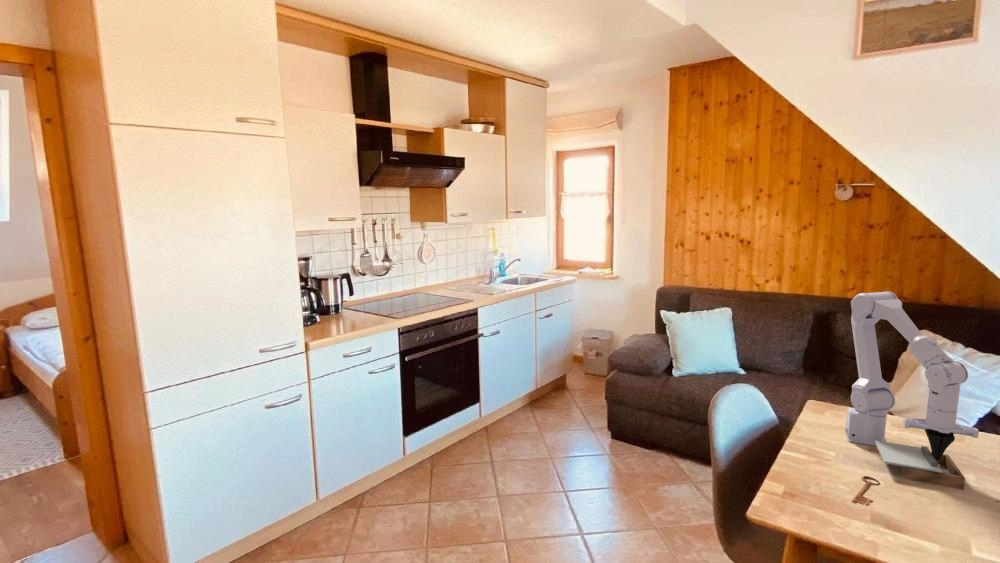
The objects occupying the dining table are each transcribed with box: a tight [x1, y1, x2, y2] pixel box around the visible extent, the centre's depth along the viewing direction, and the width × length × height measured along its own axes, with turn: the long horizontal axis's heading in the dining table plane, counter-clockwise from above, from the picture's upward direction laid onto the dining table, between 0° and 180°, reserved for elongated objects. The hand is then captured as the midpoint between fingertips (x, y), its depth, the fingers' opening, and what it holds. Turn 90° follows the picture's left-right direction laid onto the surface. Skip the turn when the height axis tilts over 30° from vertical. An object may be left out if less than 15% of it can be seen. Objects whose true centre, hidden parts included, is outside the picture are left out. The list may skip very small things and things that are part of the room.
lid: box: [875, 440, 943, 473], centre depth 133 cm, size 12×13×2 cm
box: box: [897, 451, 966, 490], centre depth 132 cm, size 12×13×3 cm
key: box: [851, 475, 881, 507], centre depth 124 cm, size 6×1×15 cm
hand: (936, 457), depth 131 cm, fingers closed
